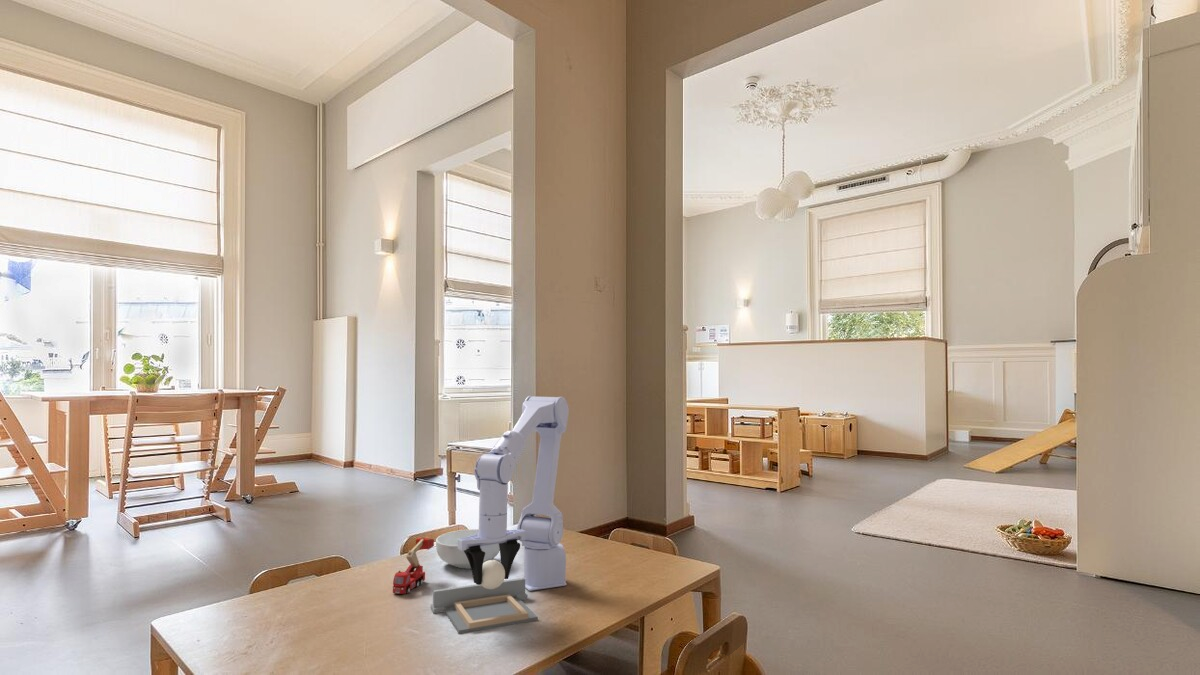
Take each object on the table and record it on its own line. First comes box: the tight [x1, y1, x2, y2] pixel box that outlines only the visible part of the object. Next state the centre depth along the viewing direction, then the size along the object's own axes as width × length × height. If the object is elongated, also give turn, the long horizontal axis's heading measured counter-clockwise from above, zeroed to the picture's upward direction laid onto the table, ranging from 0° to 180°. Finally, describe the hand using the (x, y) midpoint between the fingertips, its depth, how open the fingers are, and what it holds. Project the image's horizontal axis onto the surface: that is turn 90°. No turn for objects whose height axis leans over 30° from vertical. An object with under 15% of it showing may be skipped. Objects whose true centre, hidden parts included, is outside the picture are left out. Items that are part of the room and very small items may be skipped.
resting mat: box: [443, 594, 539, 635], centre depth 127 cm, size 16×12×2 cm
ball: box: [481, 559, 505, 589], centre depth 127 cm, size 6×6×6 cm
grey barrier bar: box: [430, 577, 529, 614], centre depth 133 cm, size 20×3×4 cm, turn 117°
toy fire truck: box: [392, 537, 435, 595], centre depth 144 cm, size 3×14×10 cm, turn 168°
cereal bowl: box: [435, 528, 500, 569], centre depth 161 cm, size 17×17×7 cm
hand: (491, 580), depth 127 cm, fingers closed on ball, 6 cm apart
